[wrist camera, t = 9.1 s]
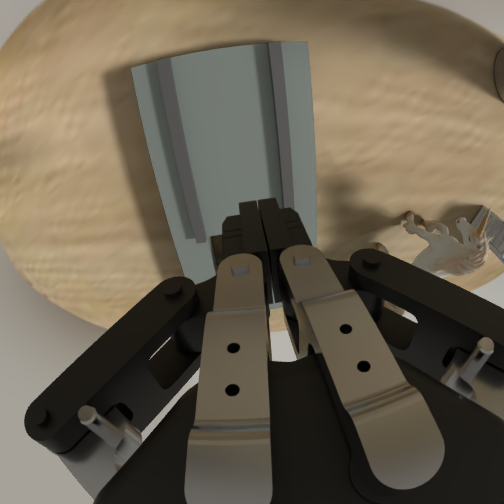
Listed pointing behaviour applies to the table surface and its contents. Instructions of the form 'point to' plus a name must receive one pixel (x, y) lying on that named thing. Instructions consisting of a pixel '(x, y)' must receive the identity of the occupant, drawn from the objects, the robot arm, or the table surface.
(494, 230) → the medicine box
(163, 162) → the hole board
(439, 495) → the robot arm
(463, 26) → the table surface
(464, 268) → the unicorn figurine
